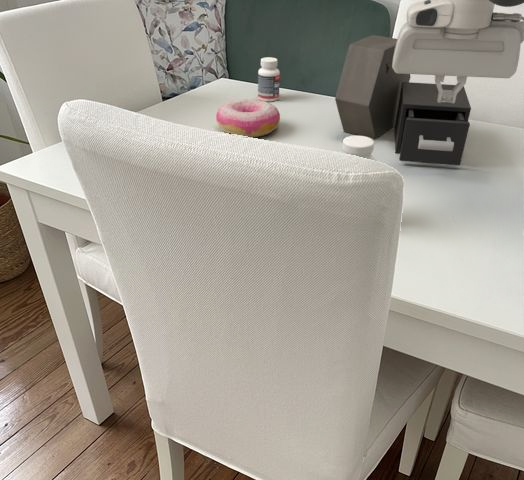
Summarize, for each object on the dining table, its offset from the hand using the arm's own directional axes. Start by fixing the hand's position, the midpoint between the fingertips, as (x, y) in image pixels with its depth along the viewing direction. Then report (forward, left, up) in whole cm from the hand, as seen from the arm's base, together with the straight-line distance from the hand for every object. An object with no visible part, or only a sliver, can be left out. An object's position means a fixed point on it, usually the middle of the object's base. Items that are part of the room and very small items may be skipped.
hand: (445, 102), depth 100 cm
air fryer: (0, -16, -13) cm, 20 cm away
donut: (+38, -16, -13) cm, 43 cm away
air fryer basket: (0, -7, -12) cm, 14 cm away
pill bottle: (+37, -38, -13) cm, 55 cm away
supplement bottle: (+14, +21, -13) cm, 29 cm away
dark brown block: (+12, -21, -13) cm, 27 cm away
